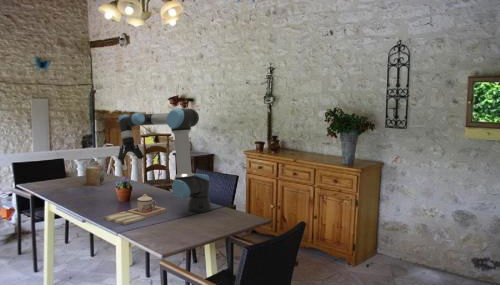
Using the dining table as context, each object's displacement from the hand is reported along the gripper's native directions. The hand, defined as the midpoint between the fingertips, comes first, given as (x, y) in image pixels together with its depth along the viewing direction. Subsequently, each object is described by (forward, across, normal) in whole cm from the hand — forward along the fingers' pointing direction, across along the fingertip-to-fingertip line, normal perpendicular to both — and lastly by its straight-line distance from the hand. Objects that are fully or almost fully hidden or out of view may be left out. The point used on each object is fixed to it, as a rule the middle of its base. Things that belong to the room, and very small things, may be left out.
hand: (133, 169), depth 275 cm
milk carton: (-1, -23, -72) cm, 76 cm away
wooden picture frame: (+30, +9, +15) cm, 35 cm away
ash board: (+31, +26, +14) cm, 43 cm away
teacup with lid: (+30, +9, +15) cm, 35 cm away
